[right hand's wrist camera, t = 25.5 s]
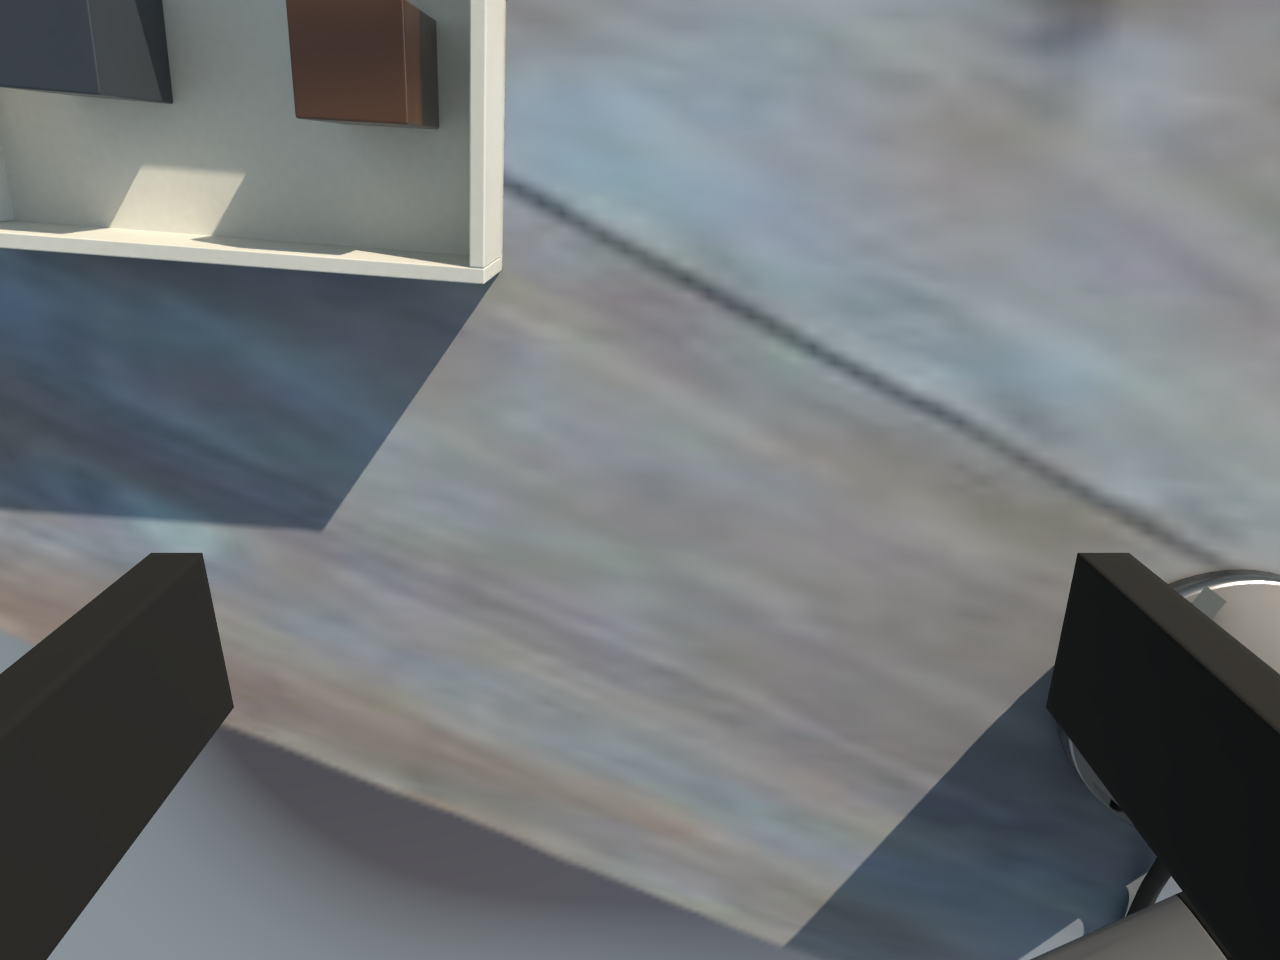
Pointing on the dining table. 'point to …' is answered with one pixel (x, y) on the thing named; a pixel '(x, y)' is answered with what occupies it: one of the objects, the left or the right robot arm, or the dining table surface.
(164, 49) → the charcoal block
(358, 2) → the walnut block
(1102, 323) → the dining table surface
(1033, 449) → the dining table surface
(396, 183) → the tray
